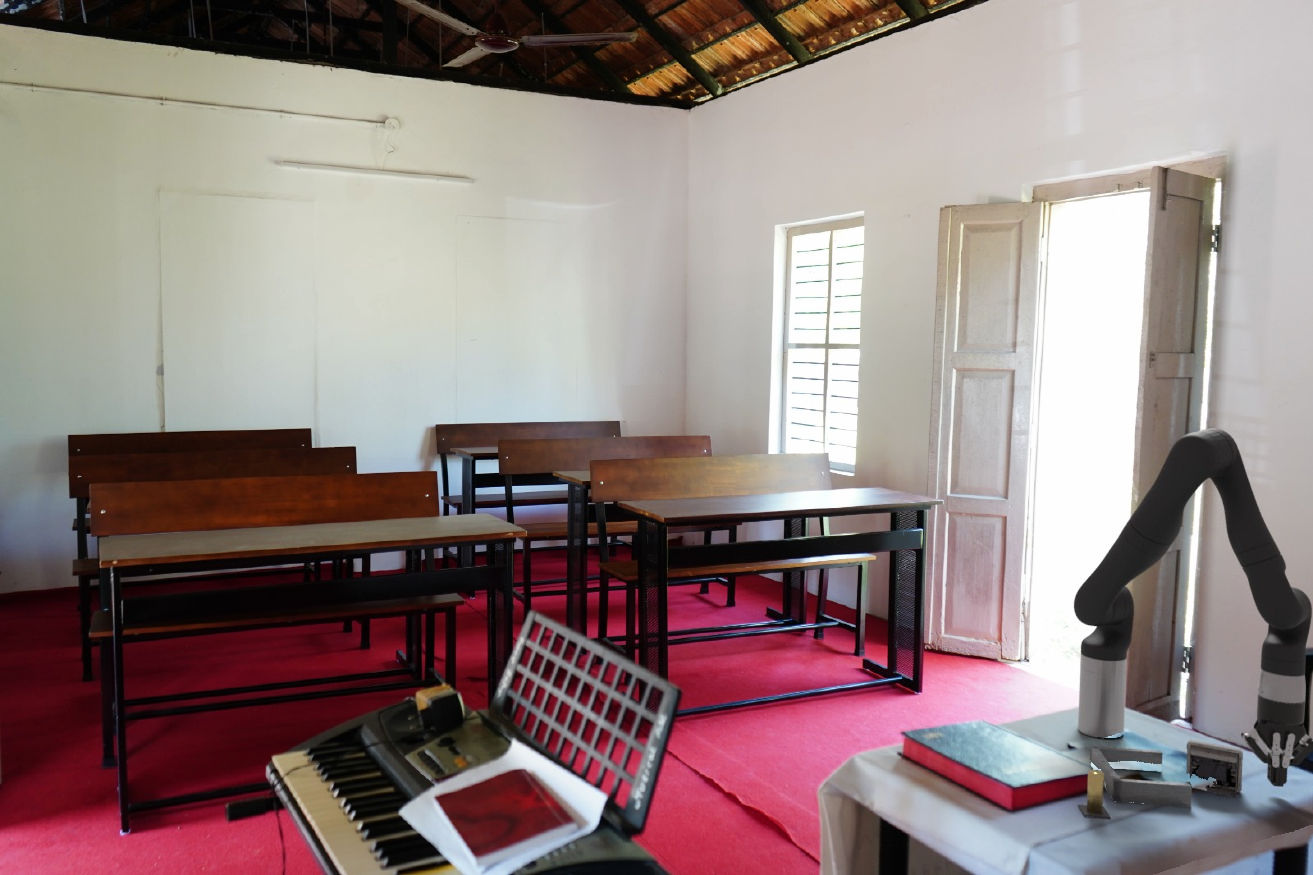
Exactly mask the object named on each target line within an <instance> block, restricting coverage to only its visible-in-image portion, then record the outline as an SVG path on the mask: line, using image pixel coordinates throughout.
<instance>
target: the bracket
mask: <svg viewBox="0 0 1313 875" xmlns="http://www.w3.org/2000/svg"><path fill="white" fill-rule="evenodd" d="M1089 752H1090V753H1089V761H1090V760H1091V762H1092V763H1093V764H1094V765H1095V766H1096V767H1097V768H1098V769H1101V771H1102V772H1103V773H1104V781H1105V783H1106V789H1107V790H1106V789H1105V790H1106V792H1107V794H1108V793H1109V794H1108V795H1109V796H1111V797H1112V798H1111V797H1110V798H1111V800H1112V799H1113V800H1112V801H1113V802H1114V801H1116V802H1115V803H1122V802H1132V803H1131V804H1135V803H1144V804H1143V805H1149V804H1152V806H1165V807H1178V808H1192V791H1193V789H1192V786H1191V785H1190V783H1189V782H1188V783H1186V782H1184V783H1183V782H1170V781H1157V780H1142V779H1130V778H1120V777H1119V775H1118V773H1117V772H1116V771H1115V769H1113V768H1112V767H1111V766H1110V764H1109V763H1108V762H1118V761H1119V762H1120V761H1137V762H1138V761H1139V762H1144V763H1151V764H1152V763H1153V764H1162V765H1163V751H1161V750H1158V749H1157V750H1155V749H1140V748H1125V747H1111V746H1109V747H1108V746H1096V745H1095V746H1093V745H1090V750H1089ZM1133 802H1134V803H1133Z"/></svg>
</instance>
